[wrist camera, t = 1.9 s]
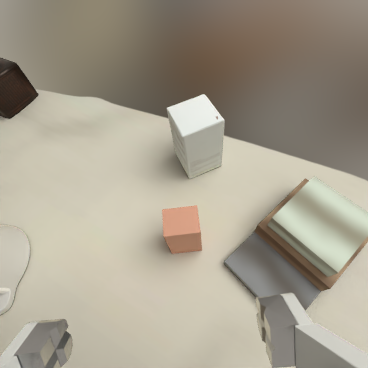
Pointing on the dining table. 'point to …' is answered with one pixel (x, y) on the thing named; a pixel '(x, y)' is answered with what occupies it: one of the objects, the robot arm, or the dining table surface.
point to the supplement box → (197, 135)
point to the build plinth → (268, 272)
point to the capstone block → (182, 229)
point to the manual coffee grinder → (14, 89)
